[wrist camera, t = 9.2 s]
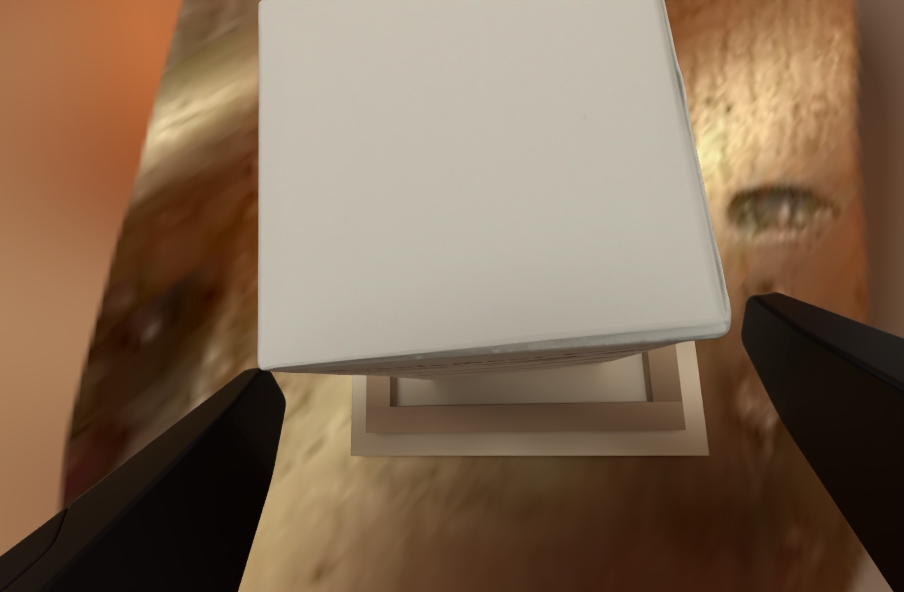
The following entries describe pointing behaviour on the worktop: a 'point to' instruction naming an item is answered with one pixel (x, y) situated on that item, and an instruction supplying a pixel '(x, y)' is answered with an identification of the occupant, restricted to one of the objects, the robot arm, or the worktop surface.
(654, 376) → the display stand
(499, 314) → the supplement box
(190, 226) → the worktop surface
